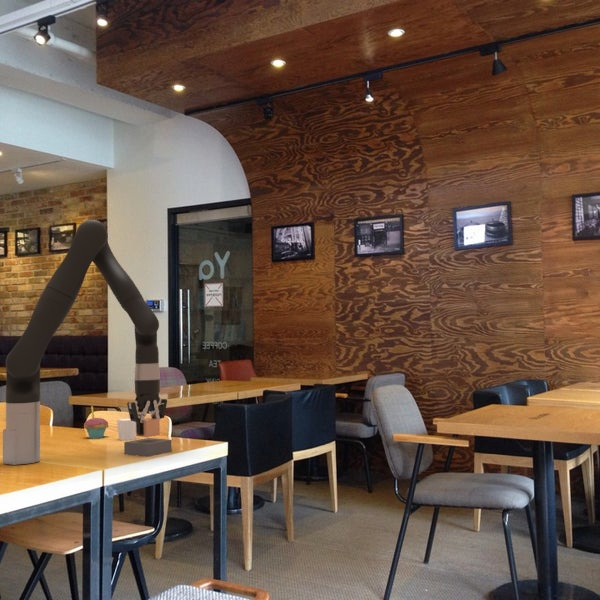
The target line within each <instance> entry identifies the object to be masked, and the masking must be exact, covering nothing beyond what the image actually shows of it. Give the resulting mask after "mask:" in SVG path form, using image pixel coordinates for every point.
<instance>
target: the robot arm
mask: <svg viewBox="0 0 600 600" xmlns="http://www.w3.org/2000/svg"><path fill="white" fill-rule="evenodd" d="M107 230H108V229H107V227H106V226H105V225H104V224H103V222H101V221H100V220H97V219H88V220H85V221H83V222H81V223H80V224H79V226H78V227H77V228H76V231H75V234H74V237H73V238H72V239H73V240H72V242H71V243H70V246H69V249H68V251H67V253H66V255H65V256H64V258H63V260H61V263H60V264H59V265H58V266H57V268H56V270H55V271H54V272H53V274H52V276H51V278H50V279H49V281H48V282H47V284H46V285H45V288H44V289H43V291H42V293H41V294H40V296H39V298H38V300H37V303H36V305H35V307H34V310H33V312H32V314H31V317H30V319H29V322H28V325H27V326H26V328H25V330H24V332H23V333H22V335H21V337H20V338H19V339H18V341H17V342H16V344H15V345H14V346H13V348H12V349H11V350H10V351H9V353H8V355H7V356H6V358H5V368H6V370H5V372H6V374H5V375H6V376H5V377H6V380H5V381H6V383H5V386H6V388H5V429H3V430H2V464H5V465H10V466H16V465H28V464H33V463H34V464H35V463H37V462H40V461H41V362H42V359H43V357H44V355H45V351H46V349H47V348H48V345H49V343H50V341H51V339H52V337H53V336H54V334H55V333H56V332H57V330H58V329H59V327H60V326H61V325H62V323H63V322H64V321H65V319H66V317H67V316H68V314H69V312H70V311H71V309H72V307H73V305H74V304H75V301H76V300H77V298H78V296H79V293H80V291H81V289H82V286H83V284H84V281H85V278H86V276H87V275H86V274H87V272H88V271H89V268H90V266H91V264H92V263H93V264H94V265H95V267H96V268H97V269H98V271H99V272H100V274H101V275H102V276H103V279H104V280H105V282H106V283H107V285H108V287H109V289H110V290H111V293H112V294H113V295H114V297H115V299H116V300H117V302H118V303H119V305H120V307H122V309H123V310H124V311H125V312H126V313H127V315H128V316H129V318H130V320H131V322H132V323H133V326H134V338H135V358H134V359H135V360H134V361H135V367H134V393H135V400H134V401H128V402H127V403H126V405H127V406H126V407H127V410H128V414H129V418H130V420H131V421H134V422H136V432H137V434H138V435H140V436H142V435H144V423H143V421H144V419H145V418H146V415H147V414H148V413H149V414H150V418H156V419H159V421H160V420H161V419H164V418H165V417H166V416H165V415H166V411H167V404H168V399H167V398H161V397H160V396H159V394H160V393H161V382H160V380H161V375H160V374H161V373H160V371H161V370H160V361H159V360H160V359H159V356H160V355H159V353H160V352H159V347H158V331H159V329H160V321H159V319H158V317H157V315H156V314H155V313H154V311H153V309H152V308H151V307H150V306H149V305H148V303H147V302H146V301H145V298H144V297H143V295H142V294H141V291H140V290H139V288H138V287H137V285H136V284H135V282H134V281H133V280H132V278H131V276H129V274H128V273H127V271H126V270H125V269H124V268H123V267H122V265H121V264H120V263H119V261H118V260H117V259H116V256H115V255H114V253H113V251H112V250H111V246H110V244H109V243H108V237H109V236H108V231H107ZM140 436H139V437H140Z"/></svg>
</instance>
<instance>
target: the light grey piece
mask: <svg viewBox="0 0 600 600" xmlns="http://www.w3.org/2000/svg"><path fill="white" fill-rule="evenodd" d="M116 422H117V423H116V424H117V431H118V440H119V441H134V440H136V439H135V438H136V437H137V436H136V422H134V421H131V420H130V417H126V418H120V419H117V420H116Z"/></svg>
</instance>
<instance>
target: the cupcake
mask: <svg viewBox="0 0 600 600" xmlns="http://www.w3.org/2000/svg"><path fill="white" fill-rule="evenodd" d="M90 409H91V416H92V418H89V419H87V420H86V421H85V422H84V423H83V428H84V430H85V429H86V432H87V435H88V438H89V439H92V440H93V439H103V438H104V435H105V433H106V429H107V428H109V422H108V420H106V419H104V418H101V417H95V412H94V406H93V405H92V404H91V407H90Z"/></svg>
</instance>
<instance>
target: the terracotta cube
mask: <svg viewBox="0 0 600 600" xmlns="http://www.w3.org/2000/svg"><path fill="white" fill-rule="evenodd" d="M143 423H144V435H142V436H140V435H138V434H137V432H136V437H139V438H142V437H143V438H152V437H156V436H160V434H161V433H160V428H161V427H160V420H159V419H156V418H152V417H144V421H143Z"/></svg>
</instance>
